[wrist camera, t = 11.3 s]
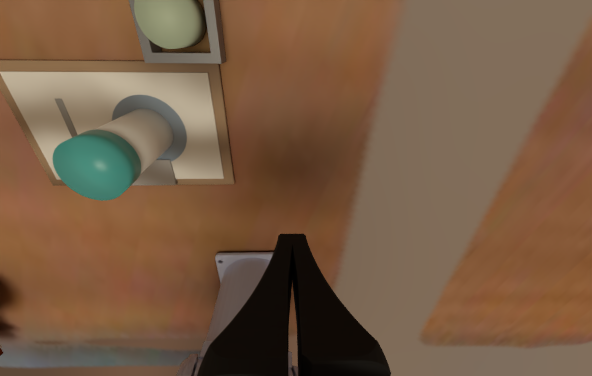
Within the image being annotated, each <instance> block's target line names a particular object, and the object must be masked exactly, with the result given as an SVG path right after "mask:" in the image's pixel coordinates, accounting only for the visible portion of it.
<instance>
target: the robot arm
mask: <svg viewBox="0 0 592 376" xmlns="http://www.w3.org/2000/svg"><path fill="white" fill-rule="evenodd" d="M215 260H216V264H217V269H218V274H219V279H220V283H221V286H220V290H219V293H218V297H217V301H216V304H215V308H214V312H213V316H212V319H211V323H210V327H209V331H208V334H207V338H206V341H204V342H203V346H202V349H201V353H200V356H199V359H198V354H191V355H190V356H189V358H187V359H186V360H184V361H183V362H182V363H181V365H180V368H179V370H178V373H177V375H176V376H390V375H391V372H390V369H389V366H388V363H387V360H386V358H385V355H384V353H383V351H382V349H381V347H380V345H379V343H378V342H377V340H375V339H374V338H373V337H372V336H371V335H370V334H369V333H368V332H367V331H366V330H365V329H364V328H363V327H362V326H361V325H360V324H359V323H358V321H357V320H356V319H355V318H354V317H353V316H352V315H351V314H350V312H349V311H348V310H347V309H346V307H344V305H343V304H342V303H341V301H340V300H339V299H338V297H337V296H336V295H335V293H334V292H333V290H332V289H331V287H330V286H329V284H328V283H327V281H326V280H325V278H324V276H323V275H322V273H321V271H320V269H319V267H318V266H317V264H316V261H315V259H314V257H313V255H312V253H311V251H310V248H309V246H308V243H307V240H306V236H305V235H304V234H280V235H279V236H278V241H277V245H276V248H275V250H274V252H245V253H217V254H216V256H215ZM220 260H222V261H220ZM292 282H293V291H294V301H295V310H296V319H297V343H298V344H297V345H298V366H292V352H290V351H288V326H289V312H290V300H291V288H292Z"/></svg>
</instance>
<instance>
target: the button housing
mask: <svg viewBox="0 0 592 376" xmlns="http://www.w3.org/2000/svg"><path fill="white" fill-rule="evenodd" d="M134 1H135V0H129V3H130V7H131V11H132V14H133V18H134V22H135V26H136V30H137V33H138V37H139V41H140V45H141V49H142V52H143V56H144V60H145V63H217V64H221V63H224V62H226V57H225V49H224V40H223V32H222V23H221V14H220V6H219V0H203V2H204V9H205V16H206V23H207V30H208V37H209V44H210V51H211V52H162V51H161V47H160V46H158V45H156V44H155V43H153V42H152V41H151V40H149V39H148V38H147V37H146V36H145V34H144V33H143V32H142V30H141V29H140V27H139V25H138V23H137V20H136V17H135V12H134Z"/></svg>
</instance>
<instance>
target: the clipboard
mask: <svg viewBox="0 0 592 376" xmlns="http://www.w3.org/2000/svg"><path fill="white" fill-rule="evenodd" d="M0 90H1V92H2V94H3V96H4V97H5V99H6V101H7V103H8V105H9V106H10V108H11V110H12V112H13V114H14V116H15V117H16V119H17V121H18V123H19V125H20V126H21V128H22V130H23V132H24V134H25V136H26V137H27V139H28V141H29V143H30V145H31V146H32V148H33V150H34V152H35V154H36V156H37V157H38V159H39V161H40V163H41V165H42V166H43V168H44V170H45V172H46V174H47V176H48V177H49V179H50V181H51V183H52V185H66V184H65V183H64V182H63V181H62V180H61V179H60V177H59V176H58V174H57V173H56V171H55V168H54V165H53V153H54V150H55V148H56V147H57V146H58V145H59V144H60V143H62V142H64V141H66V140H68V139H70V138H72V137H75V136H77V135H79V134H81V133H83V132H85V131H88V130H94V129H96V128H98V127H100V126H102V125H105V124H107V123H109V122H111V121H113V120H115V119H117V118H119V117H121V116H123V115H125V114H128V113H130V112H132V111H134V110H136V109H141V108H145V109H150V110H153V111H155V112H157V113H159V114H161V115H162V116H163V117H164V118H165V119H166V120H167V121H168V123H169V124H170V126H171V128H172V131H173V142H172V144H171V146H170V147H169V148H168V149H167V150H166V151H165V152H164V153H163V154H162V155H161V156H159V157H158V158H157V159H156V160H155V161H154V162H153V163H152V164H151V165H150V166H149V167H148V168H147V169H145V170H144V171H143V172H142V173H141V174H140V176H139V178H138V179H137V180H136V181H135V182H134V183H133V184H132V185H215V184H235V181H234V173H233V165H232V158H231V150H230V142H229V134H228V127H227V119H226V111H225V104H224V96H223V88H222V81H221V73H220V65H219V64H217V63H145V61H87V60H0Z"/></svg>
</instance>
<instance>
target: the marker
mask: <svg viewBox="0 0 592 376" xmlns="http://www.w3.org/2000/svg"><path fill="white" fill-rule="evenodd" d="M172 142H173V131H172V128H171V126H170V124H169V123H168V121H167V120H166V119H165V118H164V117H163V116H162V115H161V114H159V113H157V112H155V111H153V110H150V109H145V108H141V109H136V110H134V111H132V112H130V113H128V114H125V115H123V116H121V117H119V118H117V119H115V120H113V121H111V122H109V123H107V124H105V125H102V126H100V127H98V128H96V129H94V130H88V131H85V132H83V133H81V134H79V135H77V136H75V137H72V138H70V139H68V140H66V141H64V142H62V143H60V144H59V145H58V146H57V147H56V148H55V150H54V153H53V165H54V168H55V171H56V173H57V174H58V176H59V177H60V179H61V180H62V181H63V182H64V183H65V184H66V185H67V186H68V187H69V188H71V189H72V190H74V191H75V192H77V193H79V194H80V195H83V196H85V197H88V198H91V199H95V200H111V199H114V198H117V197H119V196H120V195H121V194H122V193H123V192H124V191H126V190H127V189H128V188H129V187H130V186H131V185H132V184H133V183H134V182H135V181H136V180H137V179H138V178H139V176H140V174H141V173H142V172H143V171H144V170H145V169H147V168H148V167H149V166H150V165H151V164H152V163H153V162H154V161H155V160H156V159H157V158H158V157H159V156H161V155H162V154H163V153H164V152H165V151H166V150H167V149H168V148H169V147H170V146H171V144H172Z"/></svg>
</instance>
